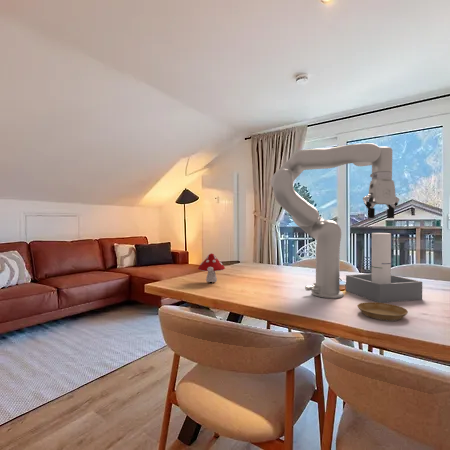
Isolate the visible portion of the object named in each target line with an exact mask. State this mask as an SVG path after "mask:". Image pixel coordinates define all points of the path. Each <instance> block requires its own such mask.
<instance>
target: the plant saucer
mask: <svg viewBox="0 0 450 450" xmlns="http://www.w3.org/2000/svg"><path fill="white" fill-rule="evenodd" d="M356 307H357V308H358V309H359V310H360V312H361V313H362V314H363V315H364V316H365V317H368V318H372V319H374V320H380V321H386V320H388V321H393V322H395V321H399V320H401V319H403V318H404V317H405V316H406V315H407V314H408V312H409V311H408V310H407V309H406V308H405V307H403V306H400V305H396V304H390V303H387V302H385V303H379V302H376V301H372V302H370V301H367V302H360V303H358V304H357V306H356ZM394 320H395V321H394ZM388 321H387V322H388Z"/></svg>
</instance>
